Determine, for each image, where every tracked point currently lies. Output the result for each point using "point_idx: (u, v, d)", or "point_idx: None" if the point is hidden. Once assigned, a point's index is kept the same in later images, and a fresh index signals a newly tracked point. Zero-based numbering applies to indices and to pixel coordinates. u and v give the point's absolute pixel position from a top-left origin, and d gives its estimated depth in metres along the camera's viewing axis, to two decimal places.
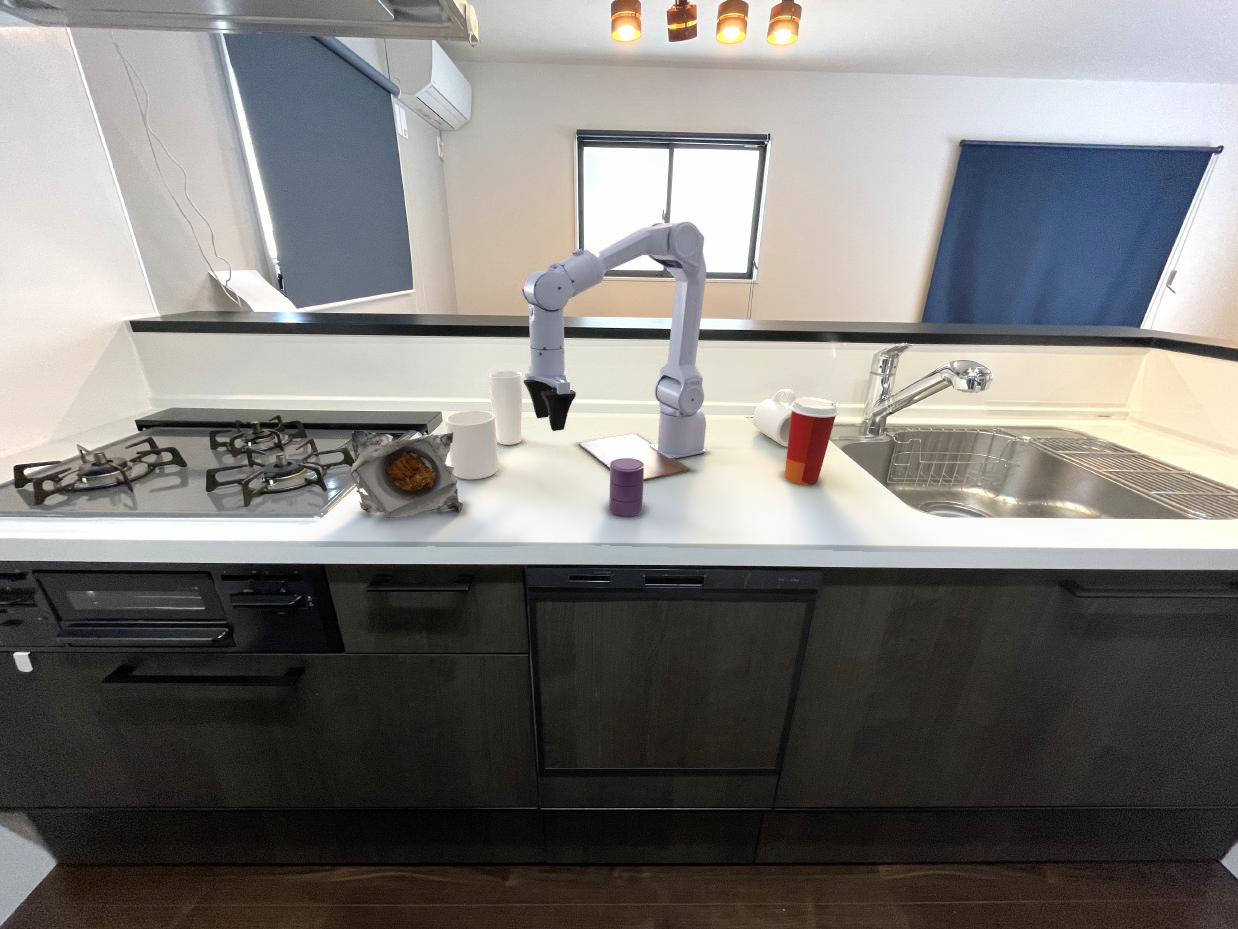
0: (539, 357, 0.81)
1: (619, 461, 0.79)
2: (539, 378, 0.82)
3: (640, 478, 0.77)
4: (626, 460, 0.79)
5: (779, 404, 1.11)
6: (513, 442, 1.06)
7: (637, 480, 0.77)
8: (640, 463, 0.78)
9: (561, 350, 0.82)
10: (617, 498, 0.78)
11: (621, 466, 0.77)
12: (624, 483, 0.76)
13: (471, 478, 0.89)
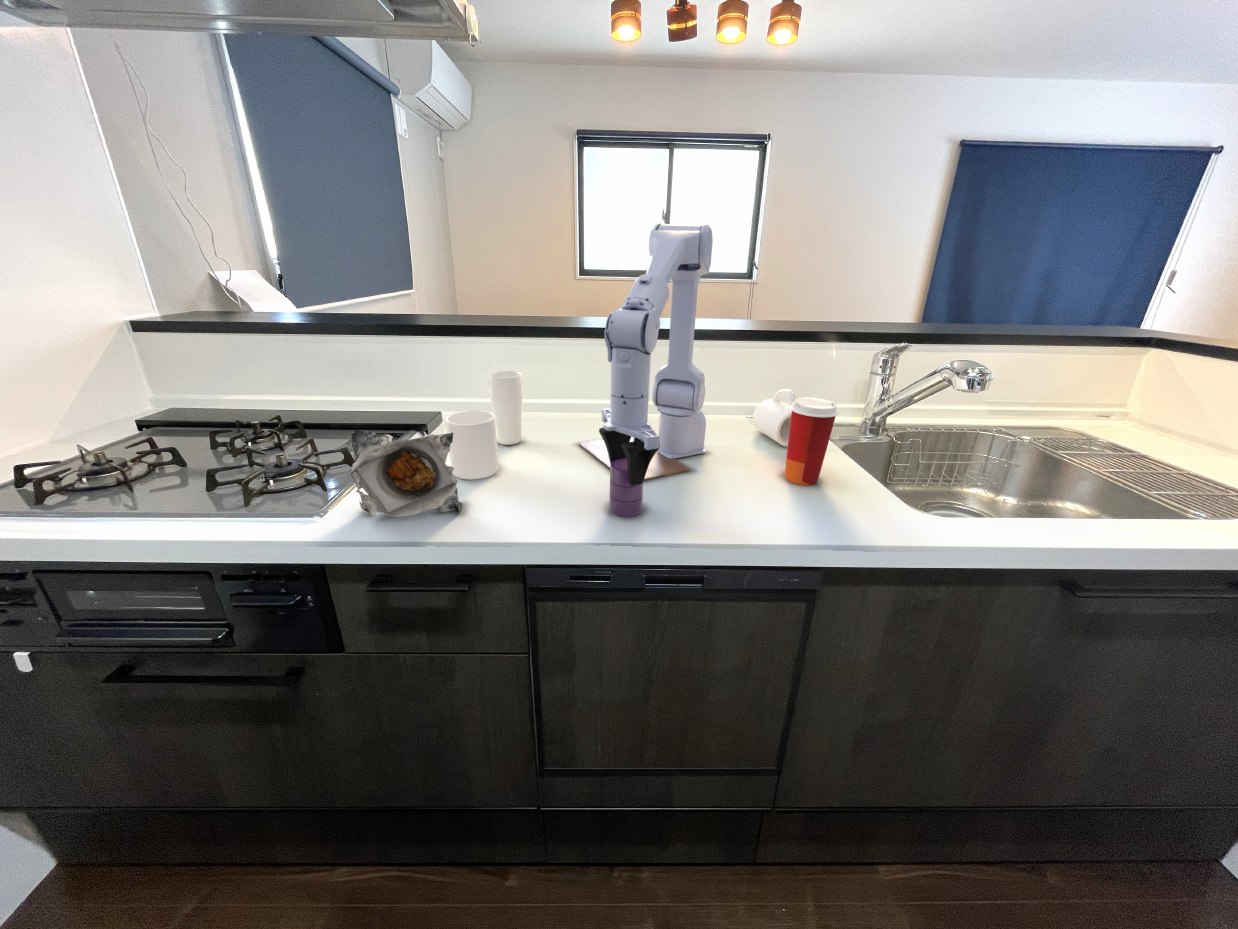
0: (623, 406, 0.71)
1: (619, 461, 0.79)
2: (621, 429, 0.72)
3: None
4: (626, 460, 0.79)
5: (779, 404, 1.11)
6: (513, 442, 1.06)
7: None
8: None
9: (646, 398, 0.72)
10: (617, 498, 0.78)
11: (621, 466, 0.77)
12: (624, 483, 0.76)
13: (471, 478, 0.89)
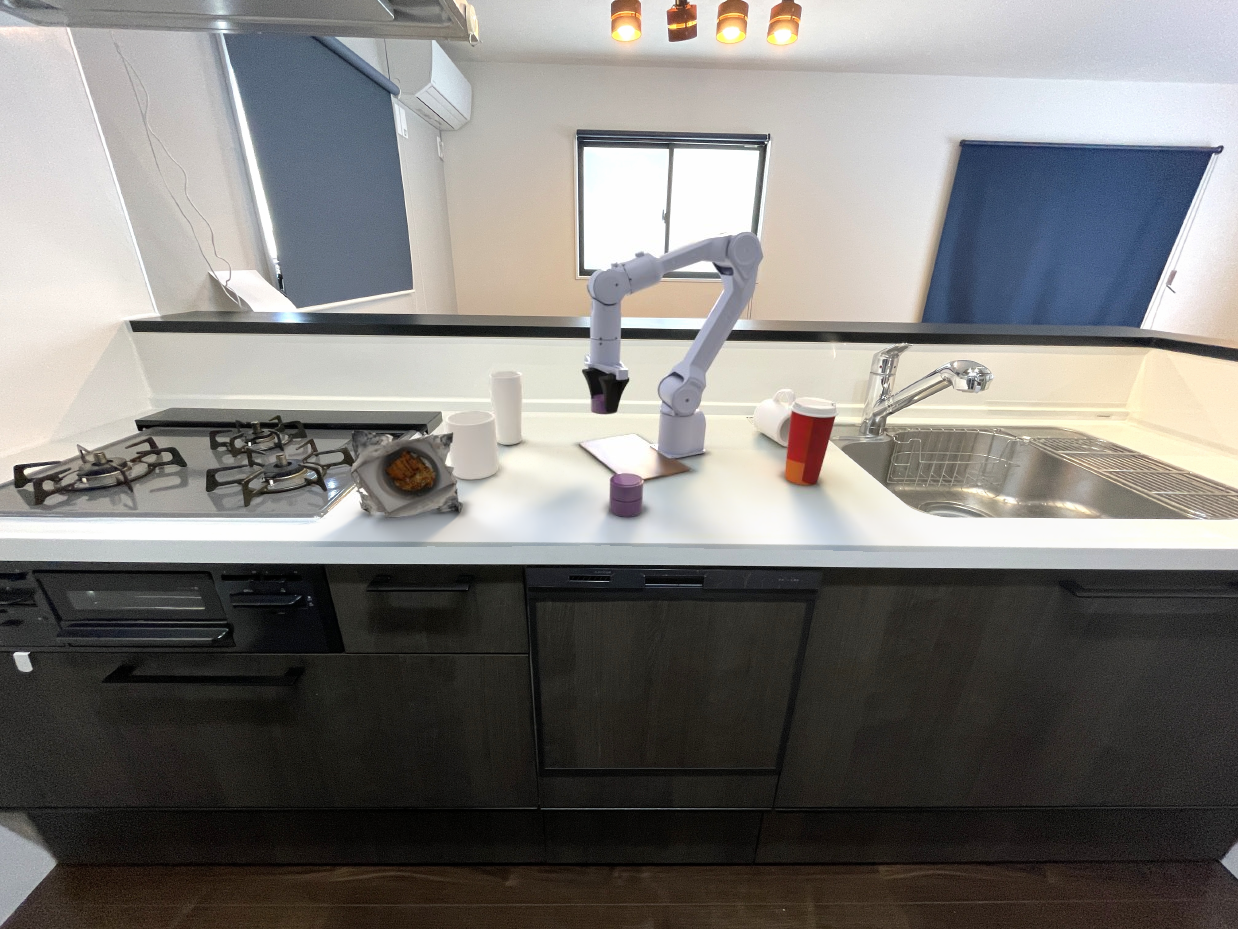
0: (599, 347, 0.90)
1: (598, 395, 0.97)
2: (599, 366, 0.91)
3: None
4: None
5: (779, 404, 1.11)
6: (513, 442, 1.06)
7: None
8: None
9: (618, 340, 0.91)
10: (617, 498, 0.78)
11: (599, 398, 0.96)
12: (601, 411, 0.95)
13: (471, 478, 0.89)
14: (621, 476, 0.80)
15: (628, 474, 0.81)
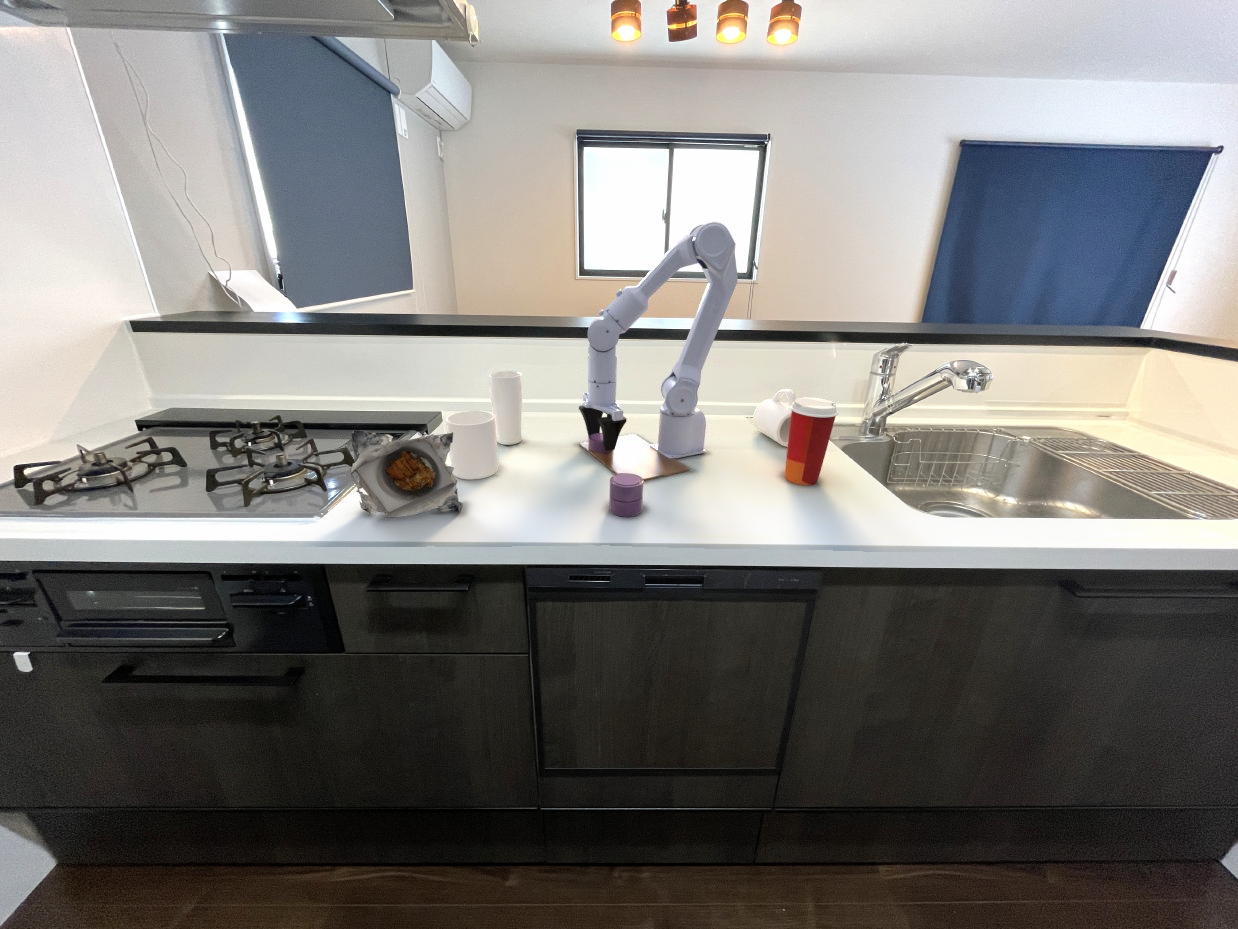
0: (596, 389, 0.97)
1: (595, 434, 1.04)
2: (596, 406, 0.98)
3: None
4: (600, 434, 1.05)
5: (779, 404, 1.11)
6: (513, 442, 1.06)
7: None
8: None
9: (614, 383, 0.98)
10: (617, 498, 0.78)
11: (596, 438, 1.02)
12: (598, 450, 1.02)
13: (471, 478, 0.89)
14: (621, 476, 0.80)
15: (628, 474, 0.81)
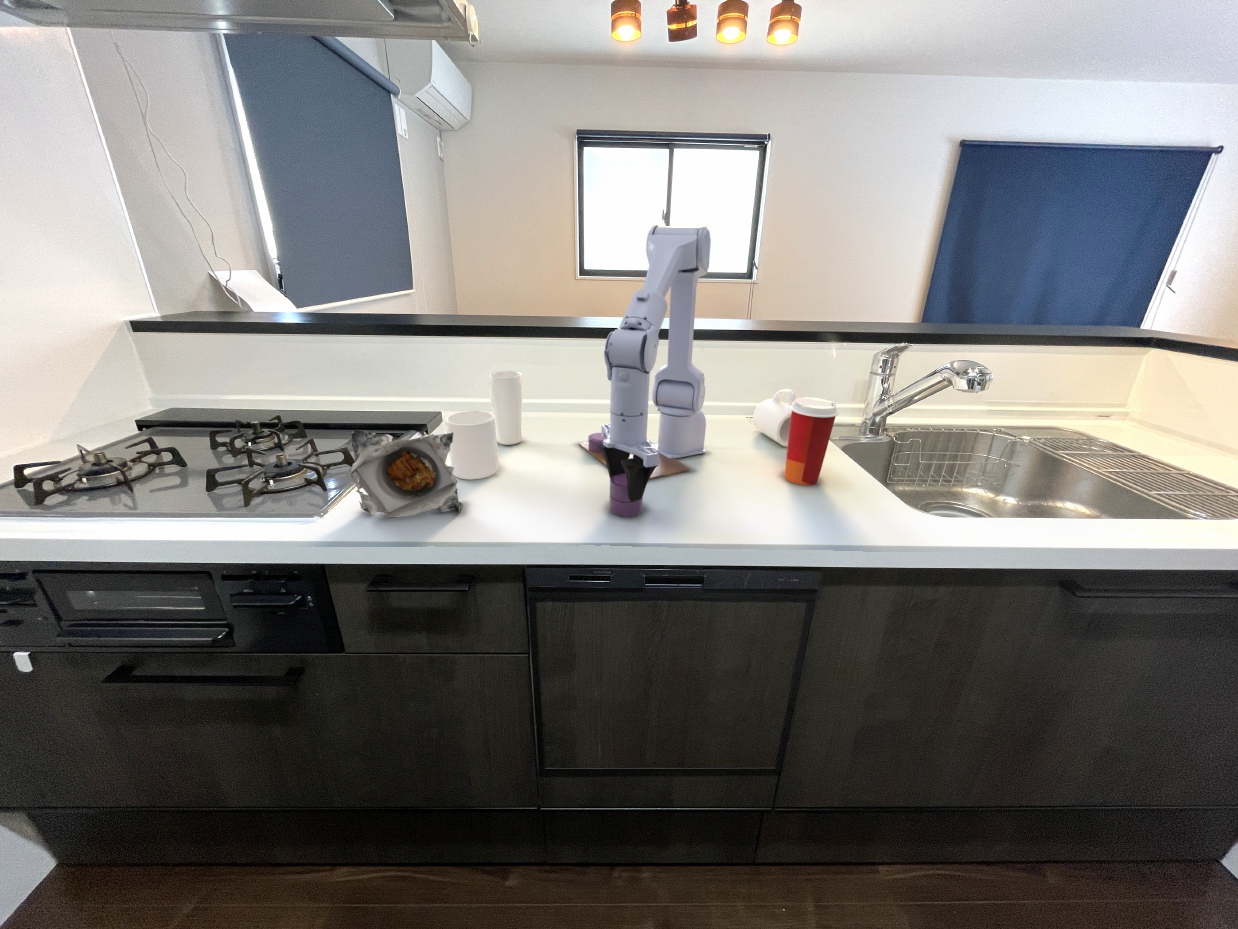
0: (622, 424, 0.72)
1: (595, 434, 1.04)
2: (621, 447, 0.73)
3: None
4: (600, 434, 1.05)
5: (779, 404, 1.11)
6: (513, 442, 1.06)
7: None
8: None
9: (646, 415, 0.73)
10: (617, 498, 0.78)
11: (596, 438, 1.02)
12: (598, 450, 1.02)
13: (471, 478, 0.89)
14: (621, 476, 0.80)
15: None
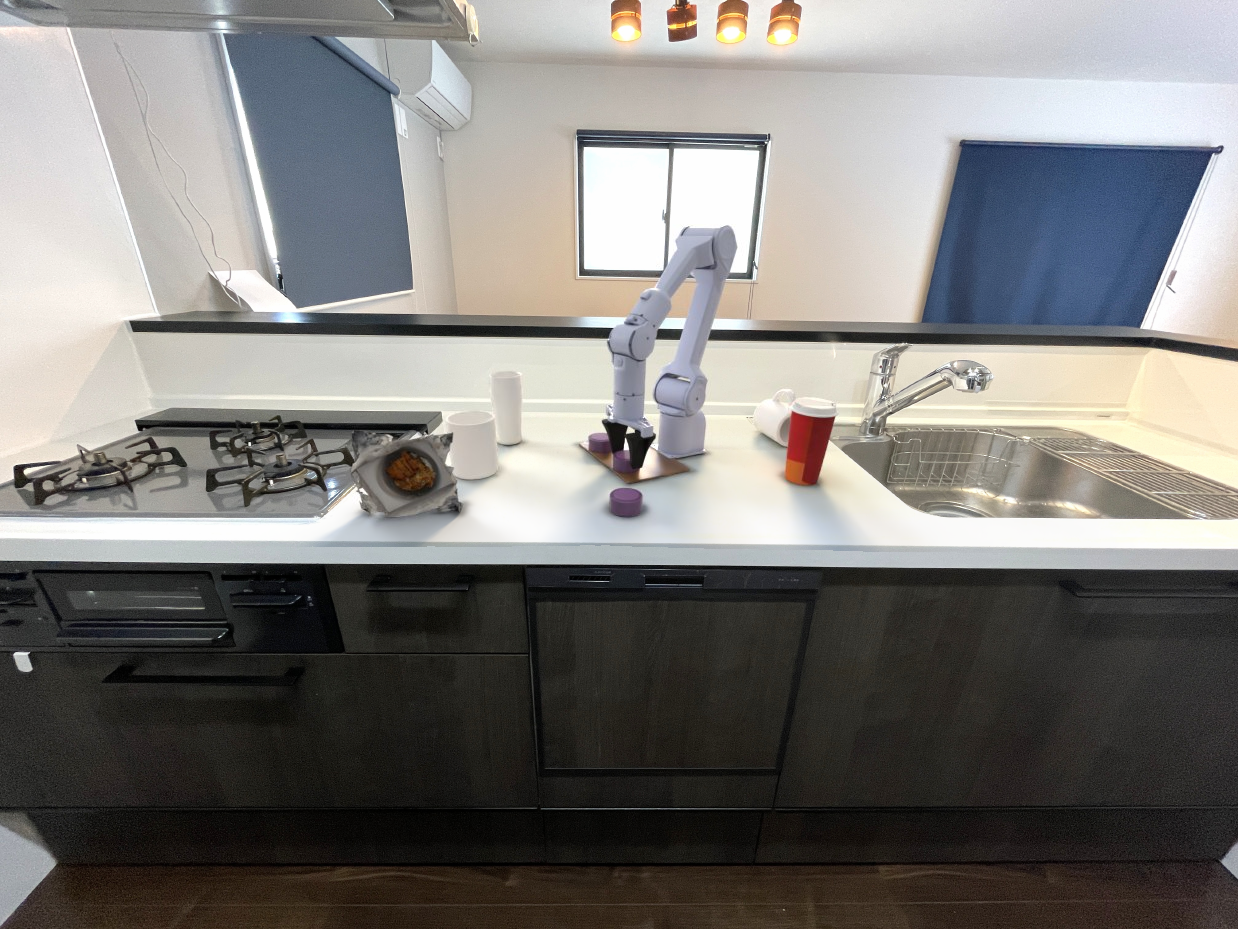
0: (623, 402, 0.88)
1: (595, 434, 1.04)
2: (622, 421, 0.89)
3: (610, 447, 1.03)
4: (600, 434, 1.05)
5: (779, 404, 1.11)
6: (513, 442, 1.06)
7: (608, 448, 1.02)
8: None
9: (643, 395, 0.89)
10: (619, 470, 0.93)
11: (596, 438, 1.02)
12: (598, 450, 1.02)
13: (471, 478, 0.89)
14: (622, 452, 0.96)
15: (628, 451, 0.96)
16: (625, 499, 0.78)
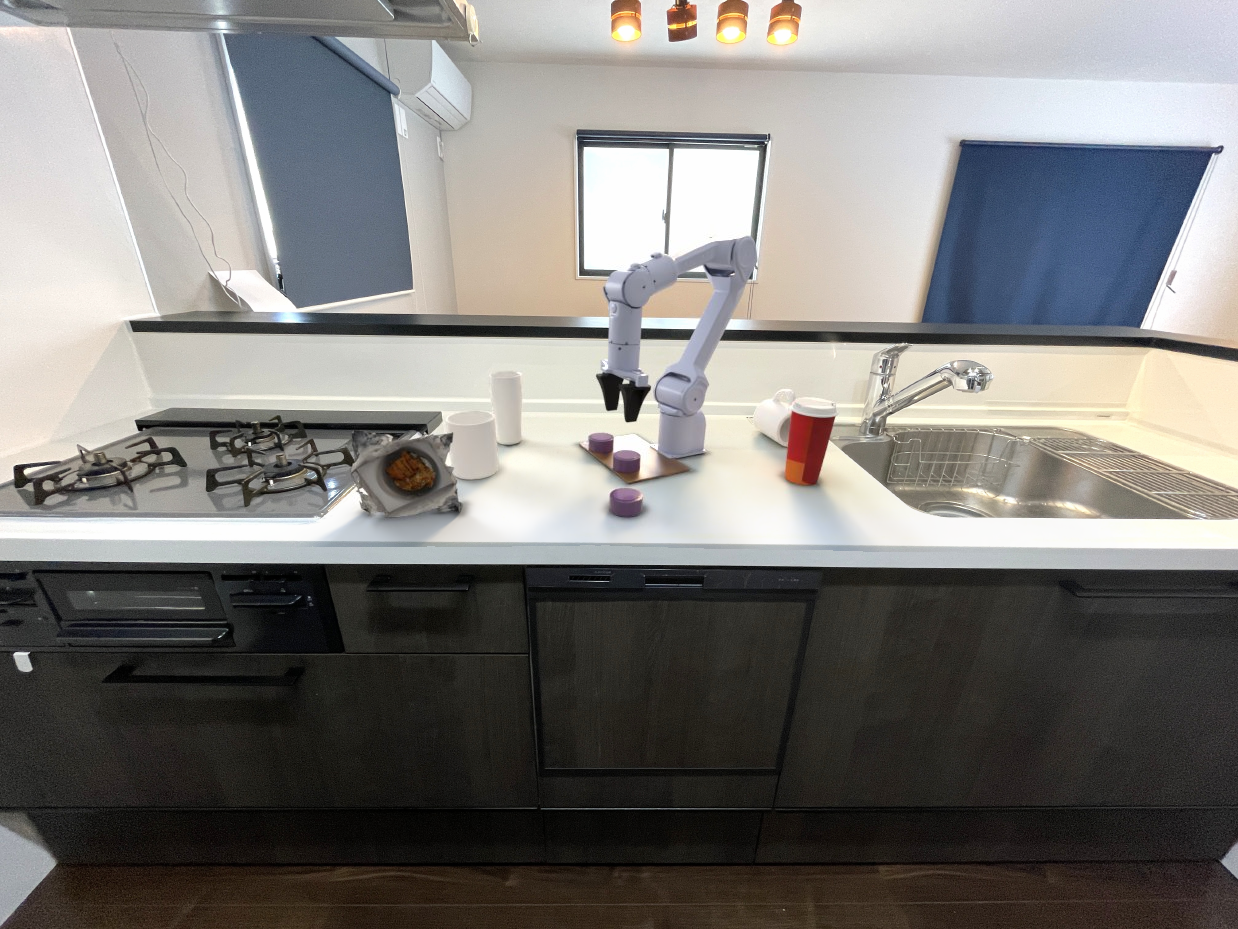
0: (618, 352, 0.86)
1: (595, 434, 1.04)
2: (617, 371, 0.87)
3: (610, 447, 1.03)
4: (600, 434, 1.05)
5: (779, 404, 1.11)
6: (513, 442, 1.06)
7: (608, 448, 1.02)
8: (611, 436, 1.04)
9: (638, 345, 0.87)
10: (619, 470, 0.93)
11: (596, 438, 1.02)
12: (598, 450, 1.02)
13: (471, 478, 0.89)
14: (622, 452, 0.96)
15: (628, 451, 0.96)
16: (625, 499, 0.78)
